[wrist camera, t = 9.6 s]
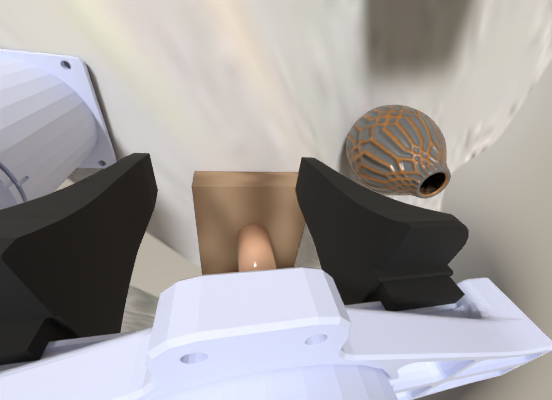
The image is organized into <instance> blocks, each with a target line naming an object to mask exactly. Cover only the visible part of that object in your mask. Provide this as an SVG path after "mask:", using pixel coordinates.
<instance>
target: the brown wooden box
mask: <svg viewBox="0 0 552 400" xmlns="http://www.w3.org/2000/svg"><path fill="white" fill-rule="evenodd" d="M298 173H299V172H214V171H195V172H194V177H193V183H192V192H193V201H194V209H195V218H196V226H197V235H198V243H199V252H200V260H201V269H202V275H207V274H220V273H232V272H239V267H238V252H237V233H238V232H239V231H240V230H241V229H242V228H243V227H245V226H248V225H261V226H263V227H265V228H266V229H267V230H268V232H269V237H270V241H271V246H272V251H273V255H274V260H275V265H276V269H282V268H294V264H295V260H296V256H297V252H298V248H299V245H300V241H301V237H302V233H303V230H304V226H305V222H306V221H305V219H304V217H303V214H302V212H301V209H300V207H299V204H298V200H297V196H296V192H295V188H296V183H297V178H298Z"/></svg>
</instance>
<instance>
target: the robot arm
mask: <svg viewBox="0 0 552 400" xmlns="http://www.w3.org/2000/svg"><path fill="white" fill-rule="evenodd" d="M64 61H67V62H68V63H69V64H70V65H71V69H69V68H67V67H66V66H65V65H64ZM101 161H104V162H105V163H106V164H103V163H101ZM76 168H105V169H103V170H101V171H99V172H97V173H95V174H93V175H91V176H89V177H87V178H85V179H83V180H81V181H79V182H77V183H75V184H73V185H70V186H68V187H66V188H64V189H61V190H58V191H56V192H54V191H55V190H56V189H57V188H58V187H59V186H60V185H61V184H62V183H63V182H64V181H65V180H66V179H67V178H68V176H69V175H70V174H71V173H72V172H73V171H74V170H75V169H76ZM157 192H158V189H157V185H156V181H155V176H154V172H153V167H152V163H151V158H150V154H149V153H133V154H131V155H129V156H127V157H125V158H123V159H121V160H119V161H117V159H116V156H115V153H114V150H113V146H112V143H111V140H110V137H109V134H108V131H107V128H106V125H105V122H104V119H103V116H102V113H101V109H100V106H99V103H98V100H97V97H96V94H95V91H94V88H93V85H92V82H91V79H90V76H89V72H88V69H87V66H86V64H85V62H84V61H83V60H82V59H80V58H79V57H75V56H67V55H57V54H47V53H38V52H28V51H18V50H8V49H0V400H413V399H416V398H419V397H423V396H426V395H430V394H433V393H436V392H440V391H443V390H447V389H450V388H454V387H458V386H461V385H465V384H468V383H472V382H476V381H480V380H484V379H488V378H493V377H497V376H500V375H503V374H505V373H507V372H509V371H511V370H513V369H515V368H517V367H519V366H521V365H523V364H525V363H527V362H529V361H531V360H533V359H536V358H538V357H540V356H542V355H544V354H546V353H548V352H550V351H552V341H551V340H550V339H549V338H548V337H547V336H546V335H545V334H544V333H543V332H542V331H541V330H540V329H539V328H538V327H537V326H536V325H535V324H534V323H533V322H532V321H531V320H530V319H529V318H528V317H527V316H526V315H525V314H524V313H523V312H522V311H521V310H520V309H519V308H518V307H517V306H516V305H515V304H514V303H512V301H511V300H510V299H509V298H507V296H506V295H505V294H503V292H501V291H500V290H499V289H498V288H497V287H496V286H495V285H494V284H493V283H492V282H491V281H490V280H489V279H488V278H475V279H466V280H462V281H459V282H457V283H455V282H454V281H453V280H452V279H451V278H450V276H451V275H452V274H453V271H452V270H451V268H449V266H448V263H449V262H450V261H451V260H452V259H453V258H454V257H455V256H456V254H457V253H458V252H459V251H460V250H461V249H462V247H463V246H464V245H465V244H466V241H467V239H468V229H467V227H466V226H465V225H464V224H463V223H462V222H460V221H459V220H458V219H457V218H456V217H454V216H453V215H451V214H447V213H442V212H438V211H433V210H429V209H424V208H420V207H417V206H413V205H410V204H406V203H403V202H400V201H397V200H394V199H391V198H388V197H386V196H383V195H381V194H378V193H376V192H373V191H371V190H369V189H367V188H365V187H363V186H361V185H359V184H357V183H355V182H353V181H351V180H350V179H348V178H346V177H344V176H343V175H341V174H339V173H338V172H336V171H335V170H333V169H332V168H330V167H328V166H327V165H325V164H324V163H322V162H320V161H319V160H317V159H315V158H306V157H302V159H301V164H300V168H299V173H298V178H297V183H296V188H295V192H296V196H297V200H298V204H299V207H300V209H301V212H302V214H303V217H304V219H305V221H306V224H307V226H308V228H309V231H310V233H311V236H312V238H313V241H314V243H315V247H316V250H317V253H318V257H319V260H320V264H321V268H322V270H321V269H316V268H306V267H295V268H282V269H270V270H257V271H245V272H232V273H220V274H207V275H200V276H196V277H191V278H187V279H183V280H180V281H178V282H176V283H175V284H173V285H172V286H171V287H169V288H168V289H166V290H165V291H163V292H162V293H161V294H160V297H159V301H158V306H157V310H156V315H155V319H154V324H153V327H150V328H146V329H143V330H140V331H133V332H125V333H120V331H121V325H122V319H123V314H124V308H125V303H126V298H127V293H128V289H129V284H130V280H131V275H132V271H133V267H134V263H135V259H136V255H137V252H138V249H139V246H140V244H141V241H142V239H143V236H144V234H145V231H146V228H147V226H148V223H149V221H150V218H151V216H152V213H153V210H154V207H155V203H156V198H157Z"/></svg>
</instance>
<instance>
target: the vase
mask: <svg viewBox="0 0 552 400" xmlns="http://www.w3.org/2000/svg"><path fill="white" fill-rule="evenodd" d="M346 156H347V160H348V163H349V166H350V168H351V169H352V171H353V173H354V174H355V175H356V177H357V178H358V179H359V180H360V181H361V182H362V183H364V184H365V185H366V186H368V187H369V188H371V189H373V190H375V191H378V192H380V193H383V194H388V195H412V196H416V197H419V198H430V197H433V196H435V195H437V194H438V193H440V192H441V191H442V190H443V189H444V188H445V187H446V186H447V185H448V183H449V181H450V178H451V174H450V171H449V169H448V167H447V164H446V143H445V139H444V136H443V134H442V132H441V130H440V129H439V127H438V126H437V125H436V123H435V122H434V121H433V120H432V119H431V118H429V117H428V116H427V115H426V114H424V113H422V112H420V111H418V110H416V109H413V108H411V107H407V106H402V105H386V106H381V107H378V108H375V109H372V110H370V111H369V112H367V113H366V114H364V115H363V116H362V117H361V118H359V119H358V120H357V122H356V123H355V124H354V125H353V127H352V128H351V130H350V132H349V134H348V137H347V141H346Z"/></svg>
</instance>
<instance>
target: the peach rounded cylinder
mask: <svg viewBox="0 0 552 400" xmlns="http://www.w3.org/2000/svg"><path fill="white" fill-rule="evenodd" d="M237 252H238V267H239V272H245V271H257V270H270V269H276V265H275V260H274V255H273V251H272V246H271V241H270V237H269V232H268V230H267V229H266V228H265V227H263V226H261V225H248V226H245V227H243V228H242V229H241V230H240V231H239V232H238V233H237Z"/></svg>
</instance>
